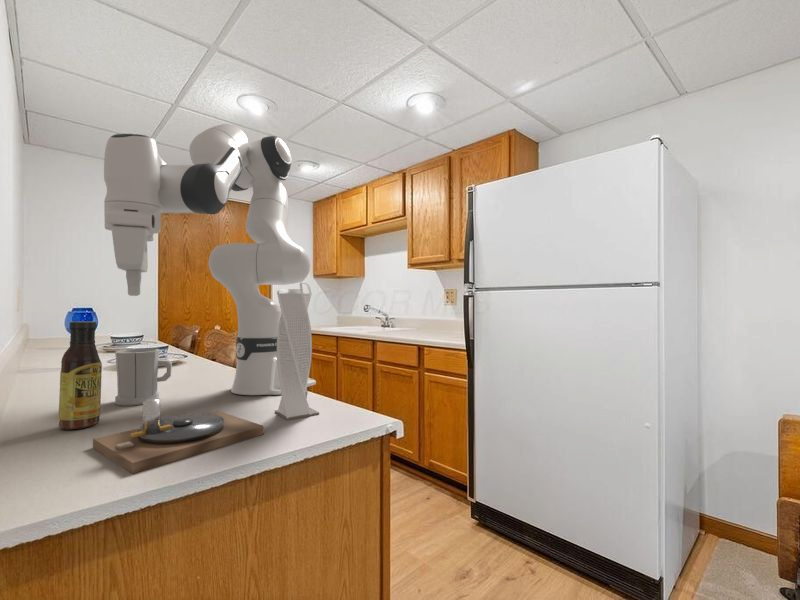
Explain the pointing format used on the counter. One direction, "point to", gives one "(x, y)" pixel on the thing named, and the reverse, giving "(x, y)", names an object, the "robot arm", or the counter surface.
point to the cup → (139, 375)
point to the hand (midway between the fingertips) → (134, 295)
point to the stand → (171, 444)
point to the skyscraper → (294, 353)
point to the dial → (175, 425)
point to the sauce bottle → (80, 379)
